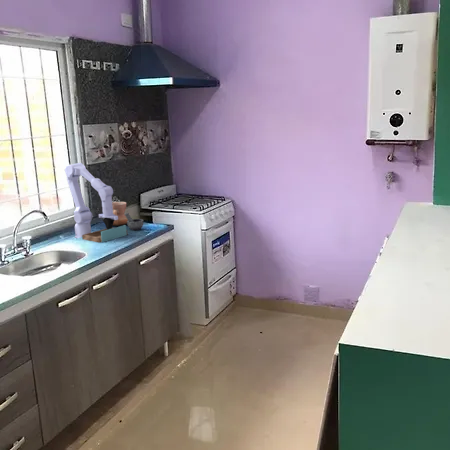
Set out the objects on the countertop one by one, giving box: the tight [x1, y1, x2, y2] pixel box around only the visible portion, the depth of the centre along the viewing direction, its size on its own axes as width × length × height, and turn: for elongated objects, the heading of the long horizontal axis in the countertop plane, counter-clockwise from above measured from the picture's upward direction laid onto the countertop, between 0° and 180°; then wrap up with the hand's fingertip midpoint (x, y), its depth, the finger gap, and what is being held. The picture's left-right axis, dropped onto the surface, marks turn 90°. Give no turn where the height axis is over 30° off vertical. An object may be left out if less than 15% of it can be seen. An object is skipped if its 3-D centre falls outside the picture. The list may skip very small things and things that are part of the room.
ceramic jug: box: [112, 201, 128, 227], centre depth 345 cm, size 18×14×14 cm
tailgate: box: [101, 224, 128, 243], centre depth 304 cm, size 1×18×6 cm, turn 142°
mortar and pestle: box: [124, 212, 144, 231], centre depth 325 cm, size 11×9×12 cm
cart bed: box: [81, 228, 129, 244], centre depth 310 cm, size 15×21×4 cm
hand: (109, 230), depth 306 cm, fingers closed
